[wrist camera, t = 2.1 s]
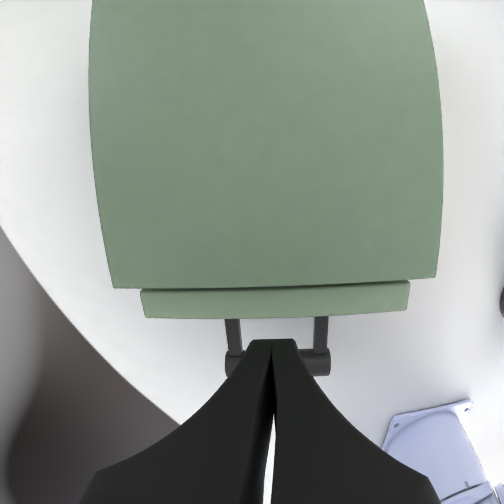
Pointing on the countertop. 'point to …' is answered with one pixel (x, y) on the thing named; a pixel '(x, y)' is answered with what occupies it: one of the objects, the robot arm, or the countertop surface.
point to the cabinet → (265, 141)
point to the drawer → (277, 309)
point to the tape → (502, 303)
